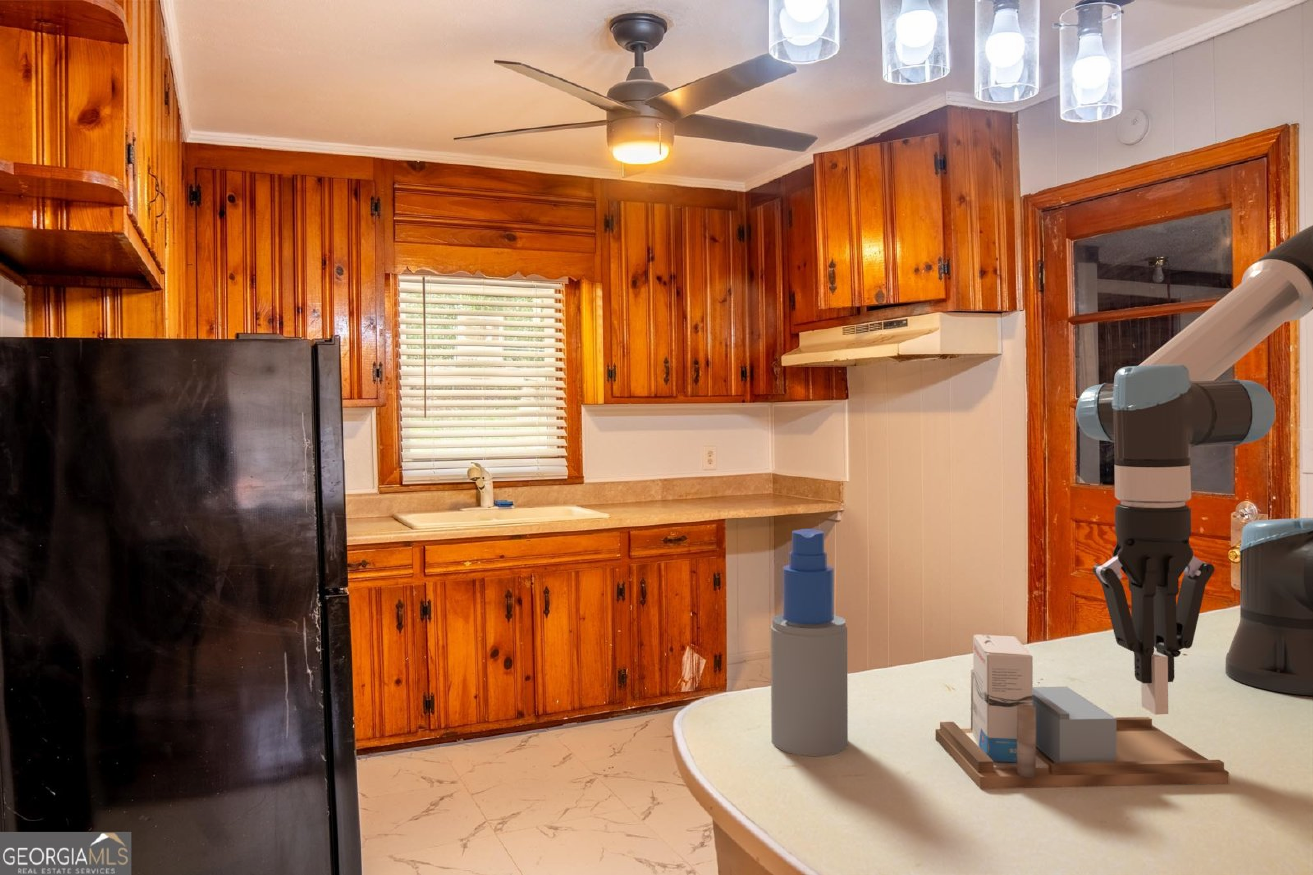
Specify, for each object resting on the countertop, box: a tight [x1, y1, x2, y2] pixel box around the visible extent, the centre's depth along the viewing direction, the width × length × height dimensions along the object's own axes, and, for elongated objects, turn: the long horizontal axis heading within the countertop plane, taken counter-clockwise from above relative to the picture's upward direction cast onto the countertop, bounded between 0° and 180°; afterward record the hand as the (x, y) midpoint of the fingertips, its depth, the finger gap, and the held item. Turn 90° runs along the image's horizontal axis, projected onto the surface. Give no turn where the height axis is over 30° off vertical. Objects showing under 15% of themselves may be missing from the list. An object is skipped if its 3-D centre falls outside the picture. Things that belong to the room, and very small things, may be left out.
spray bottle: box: [770, 528, 849, 757], centre depth 107 cm, size 9×9×25 cm
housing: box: [1032, 686, 1116, 763], centre depth 101 cm, size 6×11×6 cm, turn 1°
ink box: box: [972, 634, 1034, 762], centre depth 101 cm, size 8×5×12 cm, turn 171°
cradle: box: [935, 668, 1230, 789], centre depth 101 cm, size 26×15×8 cm, turn 91°
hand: (1154, 710), depth 103 cm, fingers closed
